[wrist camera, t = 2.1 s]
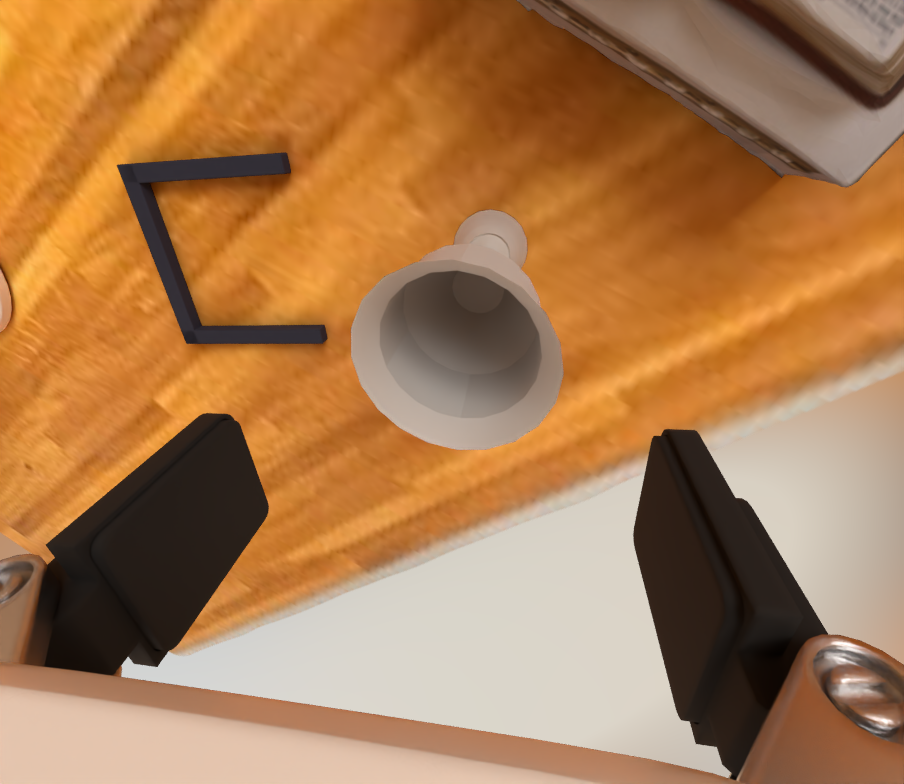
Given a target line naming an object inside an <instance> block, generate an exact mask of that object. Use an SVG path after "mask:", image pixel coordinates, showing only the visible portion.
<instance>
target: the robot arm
mask: <svg viewBox="0 0 904 784" xmlns="http://www.w3.org/2000/svg"><path fill="white" fill-rule="evenodd" d="M11 311H12V305H11V295H10V292H9V288H8V284H7V282H6V280H5V277H4V275H3V273H2V271H1V269H0V332H1V331H2V330H4V329H5V328H6V326H7V324H8V322H9V321H10V317H11ZM268 509H269V505H268V501H267V499H266V496H265V493H264V490H263V488H262V485H261V482H260V479H259V476H258V474H257V471H256V468H255V465H254V463H253V460H252V457H251V454H250V451H249V449H248V446H247V443H246V440H245V437H244V435H243V432H242V429H241V426H240V424H239V423H238V422H237V421H235V420H234V418H233V417H232V416H231V415H228V414H212V413H206V414H202V415H200V416H199V417H197V418H196V419H195V420H194V421H193V422H191V423H190V424H189V425H188V426H187V427H185V428H184V429H183V430H182V431H181V432H180V433H178V434H177V435H176V436H175V437H174V438H172V439H171V440H170V441H169V442H168V443H166V444H165V445H164V446H163V447H162V448H160V449H159V450H158V451H157V452H156V453H155V454H153V455H152V456H151V457H150V458H149V459H147V460H146V461H145V462H144V463H143V464H141V465H140V466H139V467H138V468H137V469H135V470H134V471H133V472H132V473H131V474H129V475H128V476H127V477H126V478H125V479H124V480H122V481H121V482H120V483H119V484H118V485H116V486H115V487H114V488H113V489H112V490H110V491H109V492H108V493H107V494H106V495H104V496H103V497H102V498H101V499H100V500H99V501H97V502H96V503H95V504H94V505H93V506H91V507H90V508H89V509H88V510H87V511H85V512H84V513H83V514H82V515H81V516H79V517H78V518H77V519H76V520H75V521H73V522H72V523H71V524H70V525H69V526H68V527H66V528H65V529H64V530H63V531H62V532H60V533H59V534H58V535H57V536H56V537H54V538H53V539H52V540H51V541H50V542H48V543H47V544H46V546H47V547H48V549H49V550H50V551H51V553H52V554H53V555H54V557H55V559H53V560H52V561H51V562H50V563H49V564H48V565H47V564H46V562H45V561H44V560H43V559H42V558H41V557H40V556H38V555H33V554H24V555H16V556H13V557H10V558H6V559H3V560H0V784H904V665H903V664H902V663H900V662H899V661H897V660H895V659H894V658H892V657H891V656H889V655H888V654H886V653H885V652H883V651H882V650H880V649H877V648H875V647H873V646H871V645H869V644H866V643H864V642H862V641H860V640H856V639H852V638H849V637H845V636H841V635H828V633H827V631H826V630H825V628H824V627H823V625H822V623H821V621H820V620H819V618H818V617H817V615H816V613H815V612H814V610H813V608H812V606H811V605H810V603H809V601H808V600H807V598H806V597H805V595H804V593H803V591H802V590H801V588H800V587H799V585H798V583H797V582H796V580H795V578H794V577H793V575H792V573H791V572H790V570H789V568H788V567H787V565H786V563H785V562H784V560H783V558H782V557H781V555H780V553H779V552H778V550H777V548H776V547H775V545H774V543H773V542H772V540H771V538H770V537H769V535H768V533H767V532H766V530H765V528H764V527H763V525H762V523H761V522H760V520H759V518H758V517H757V515H756V513H755V512H754V510H753V509H752V507H751V506H750V505H749V503H748V502H747V501H745V500H744V499H742V498H735V496H734V495H733V493H732V491H731V489H730V488H729V486H728V484H727V482H726V481H725V479H724V477H723V475H722V474H721V472H720V470H719V468H718V467H717V465H716V463H715V462H714V460H713V458H712V456H711V454H710V453H709V451H708V449H707V447H706V446H705V444H704V442H703V440H702V439H701V437H700V435H699V434H698V432H697V431H695V430H673V429H665V430H664V431H663V433H662V435H661V436H654V437H653V438H652V442H651V446H650V451H649V456H648V461H647V466H646V471H645V476H644V481H643V486H642V491H641V496H640V501H639V506H638V511H637V516H636V521H635V526H634V535H633V536H634V546H635V550H636V554H637V558H638V562H639V566H640V570H641V574H642V578H643V582H644V585H645V589H646V593H647V597H648V601H649V605H650V609H651V613H652V617H653V621H654V625H655V629H656V633H657V636H658V640H659V644H660V648H661V652H662V656H663V660H664V664H665V668H666V672H667V676H668V680H669V683H670V687H671V691H672V695H673V699H674V703H675V707H676V710H677V713H678V716H679V717H680V719H681V720H684V721H690V724H691V727H692V731H693V735H694V739H695V742H696V744H701V745H707V746H714V747H717V749H718V752H719V755H720V758H721V761H722V765H724V766H725V767H726V768H727V769H728V770H729V771H730V772H731V773H730V775H729V778H726V777H722V776H719V775H716V774H713V773H708V772H704V771H700V770H695V769H691V768H687V767H682V766H678V765H673V764H669V763H664V762H660V761H656V760H651V759H646V758H640V757H634V756H629V755H623V754H617V753H611V752H606V751H599V750H594V749H588V748H583V747H577V746H571V745H565V744H560V743H553V742H548V741H542V740H537V739H530V738H523V737H517V736H511V735H505V734H498V733H492V732H485V731H479V730H472V729H466V728H459V727H452V726H446V725H439V724H434V723H427V722H421V721H414V720H408V719H401V718H395V717H388V716H382V715H375V714H369V713H362V712H355V711H348V710H342V709H335V708H328V707H322V706H315V705H309V704H301V703H295V702H288V701H282V700H275V699H268V698H262V697H255V696H248V695H241V694H235V693H228V692H221V691H214V690H208V689H201V688H194V687H187V686H180V685H173V684H165V683H158V682H152V681H145V680H138V679H131V678H124V677H121V671H122V667H121V665H122V664H123V662H124V661H125V660H126V658H127V657H128V656H129V658H130V659H131V660H132V662H133V663H134V664H140V665H147V666H155V667H158V665H159V664H160V662H161V661H162V659H163V658H164V657H165V655H166V654H167V652H168V651H169V650H172V649H173V648H175V647H176V646H177V645H178V644H179V642H180V641H181V640H182V638H183V637H184V635H185V634H186V632H187V631H188V630H189V628H190V627H191V625H192V624H193V622H194V621H195V619H196V618H197V617H198V615H199V614H200V612H201V611H202V609H203V608H204V607H205V605H206V604H207V602H208V601H209V599H210V598H211V596H212V595H213V594H214V592H215V591H216V589H217V588H218V586H219V585H220V584H221V582H222V581H223V579H224V578H225V576H226V575H227V573H228V572H229V571H230V569H231V568H232V566H233V565H234V563H235V562H236V560H237V559H238V558H239V556H240V555H241V553H242V552H243V550H244V549H245V548H246V546H247V545H248V543H249V542H250V540H251V539H252V537H253V536H254V535H255V533H256V532H257V530H258V529H259V527H260V526H261V525H262V523H263V522H264V520H265V519H266V517H267V514H268Z"/></svg>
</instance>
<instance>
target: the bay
mask: <svg viewBox="0 0 904 784" xmlns="http://www.w3.org/2000/svg"><path fill="white" fill-rule="evenodd" d="M117 167H118V170H119V172H120V175H121V177H122V180H123V182H124V185H125V187H126V190H127V193H128V195H129V198H130V200H131V203H132V205H133V208H134V211H135V213H136V216H137V218H138V221H139V223H140V226H141V228H142V231H143V234H144V236H145V239H146V241H147V244H148V246H149V249H150V252H151V254H152V257H153V259H154V262H155V264H156V267H157V269H158V272H159V275H160V277H161V280H162V282H163V285H164V287H165V290H166V293H167V295H168V298H169V300H170V303H171V305H172V308H173V310H174V313H175V316H176V318H177V321H178V323H179V326H180V328H181V331H182V334H183V336H184V339H185V341H186V343H187V344H322V343H324V342H325V341H326V340H327V334H326V330H325V325H265V326H201V323H200V320H199V317H198V315H197V312H196V309H195V306H194V304H193V301H192V298H191V295H190V293H189V290H188V287H187V284H186V282H185V279H184V276H183V273H182V271H181V268H180V265H179V262H178V260H177V257H176V254H175V251H174V249H173V246H172V243H171V240H170V238H169V235H168V232H167V229H166V227H165V224H164V221H163V218H162V216H161V213H160V210H159V207H158V205H157V202H156V199H155V196H154V194H153V191H152V188H151V185H150V183H151V182H167V181H182V180H198V179H213V178H229V177H244V176H260V175H275V174H287V173H291V170H290V165H289V160H288V156H287V153H273V154H260V155H246V156H232V157H218V158H204V159H190V160H177V161H163V162H149V163H135V164H121V165H117Z"/></svg>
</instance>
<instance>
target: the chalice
mask: <svg viewBox="0 0 904 784" xmlns="http://www.w3.org/2000/svg"><path fill="white" fill-rule="evenodd" d="M526 255H527V238H526V236H525V234H524V231H523V229H522V227H521V226H520V224H519V223H518V222H517V221H516V220H515V219H514V218H513V217H511V216H510V215H508V214H506V213H504V212H502V211H496V210H485V211H479V212H477V213H475V214H473V215H471V216H469V217H468V218H467V219H466V220H465V221H464V222H463V223H462V224H461V225H460V227H459V229H458V231H457V233H456V235H455V240H454V245H448V246H444V247H442V248H440V249H438V250H435V251H433V252H431V253H429V254H427V255H425V256H424V257H423V258H422V259H421V260H420V261H419V262H415V263H413V264H411V265H408V266H406V267H404V268H402V269H400V270H397V271H395V272H393V273H391V274H389V275H386V276H384V277H383V278H382V279H381V280H380V281H379V282H378V283H377V285H376V286H375V287H374V288H373V289H372V290H371V291H370V292H369V293H368V294H367V295H366V296H365V297H364V298H363V299H362V301H361V304H360V306H359V309H358V312H357V314H356V317H355V319H354V322H353V325H352V327H351V358H352V361H353V364H354V366H355V369H356V372H357V375H358V378H359V381H360V383H361V386H362V387H363V389H364V390H365V392H366V393H367V394H368V396H369V397H370V399H371V400H372V401H373V403H374V404H375V406H376V407H377V408H378V410H379V411H380V412H382V413H383V414H384V415H385V416H386V417H388V418H389V419H390V420H391V421H392V422H393V423H395V424H396V425H397V426H398V427H399V428H401V429H402V430H404V431H406V432H408V433H410V434H412V435H414V436H416V437H418V438H420V439H422V440H424V441H426V442H428V443H432V444H436V445H440V446H444V447H448V448H452V449H456V450H487V449H490V448H494V447H497V446H501V445H504V444H508V443H511V442H515V441H516V440H518V439H519V438H521V437H522V436H524V435H525V434H527V433H528V432H530V431H531V430H533V429H535V428H536V427H538V426H539V425H540V423H541V422H542V421H543V419H544V418H545V417H546V415H547V414H548V413H549V411H550V410H551V409H552V407H553V406H554V405H555V403H556V400H557V396H558V393H559V389H560V386H561V382H562V378H563V375H564V374H563V364H562V354H561V345H560V341H559V339H558V337H557V335H556V333H555V331H554V329H553V327H552V325H551V323H550V321H549V318H548V316H547V314H546V313H545V311H544V310H543V309H542V308H541V307H540V300H539V297H538V295H537V293H536V291H535V289H534V287H533V284H532V282H531V280H530V278H529V277H528V276H527V275H526V274H525V273H524V272H523V271H522V270H521V268H522V266H523V264H524V263H525V259H526Z"/></svg>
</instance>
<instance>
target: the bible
mask: <svg viewBox="0 0 904 784" xmlns="http://www.w3.org/2000/svg"><path fill="white" fill-rule="evenodd" d="M517 1H518V2H519V3H521V4H522V5H523V6H524V7H525V8H526V9H527V10H528V11H530V10H532V9H534V10H535V11H536V12H538V13H539V14H540V15H541V16H542V17H544V18H545V19H546V20H547V21H549V22H550V23H552V24H553V25H555V26H557V27H559V28H561V29H563V28H564V29H566V30H567V31H569V32H570V33H572V34H573V35H575V36H576V37H578V38H579V39H581V40H583V41H584V42H586V43H588V44H590V45H591V46H593V47H594V48H595V49H597V50H598V51H599V52H600V53H602V54H603V55H604V56H606V57H607V58H608V59H610V60H611V61H613V62H615V63H617V64H618V65H620V66H622V67H624V68H626V69H627V70H629V71H631V72H633V73H634V74H636V75H638V76H639V77H641V78H642V79H644V80H645V81H646V82H648V83H649V84H651V85H652V86H654V87H656V88H658V89H659V90H661V91H663V92H665V93H667V94H669V95H670V96H671V97H672V98H673V99H675V100H676V101H678V102H680V103H681V104H682V105H683V106H684V107H686V108H688V109H690V110H691V111H693V112H695V114H696V113H697V114H696V115H698V116H699V117H701V118H702V119H704V120H705V121H707V122H708V123H709V124H711V125H712V126H713V127H715V128H716V129H717V130H718V131H719V132H720V133H722V134H724V135H727V136H729V137H730V138H731V139H732V140H734V141H735V142H736V143H738V144H739V145H741V146H742V147H743V148H745V149H746V150H747V151H748V152H749V153H750V154H752V155H754V156H756V157H758V158H760V159H761V160H762V161H763V162H765V163H766V164H767V165H768V166H769V167H770V168H771V169H772V170H774V171H775V172H776V173H777V174H778V175H779V176H780V177H781V178H782V177H783V175H784V174H788V175H797V176H805V177H808V178H811V179H815V180H822V181H826V182H829V183H833V184H837V185H839V186H841V187H849V186H851V185H853V184H854V183H856V182H858V181H859V179H860V178H861V177H862V176H863V175H864V174H865V173H866V172H867V170H868V169H869V168H870V167H871V166H872V165H873V164H874V163H875V162H876V161H877V160H878V159H879V158H880V157H881V156H882V155H883V154H884V153H885V152H886V151H887V150H888V149H889V148H890V147H891V146H892V145H893V144H894V143H895V142H896V141H897V140H898V139H899V138H900V137H901V136H902V135H903V134H904V0H517Z"/></svg>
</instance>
